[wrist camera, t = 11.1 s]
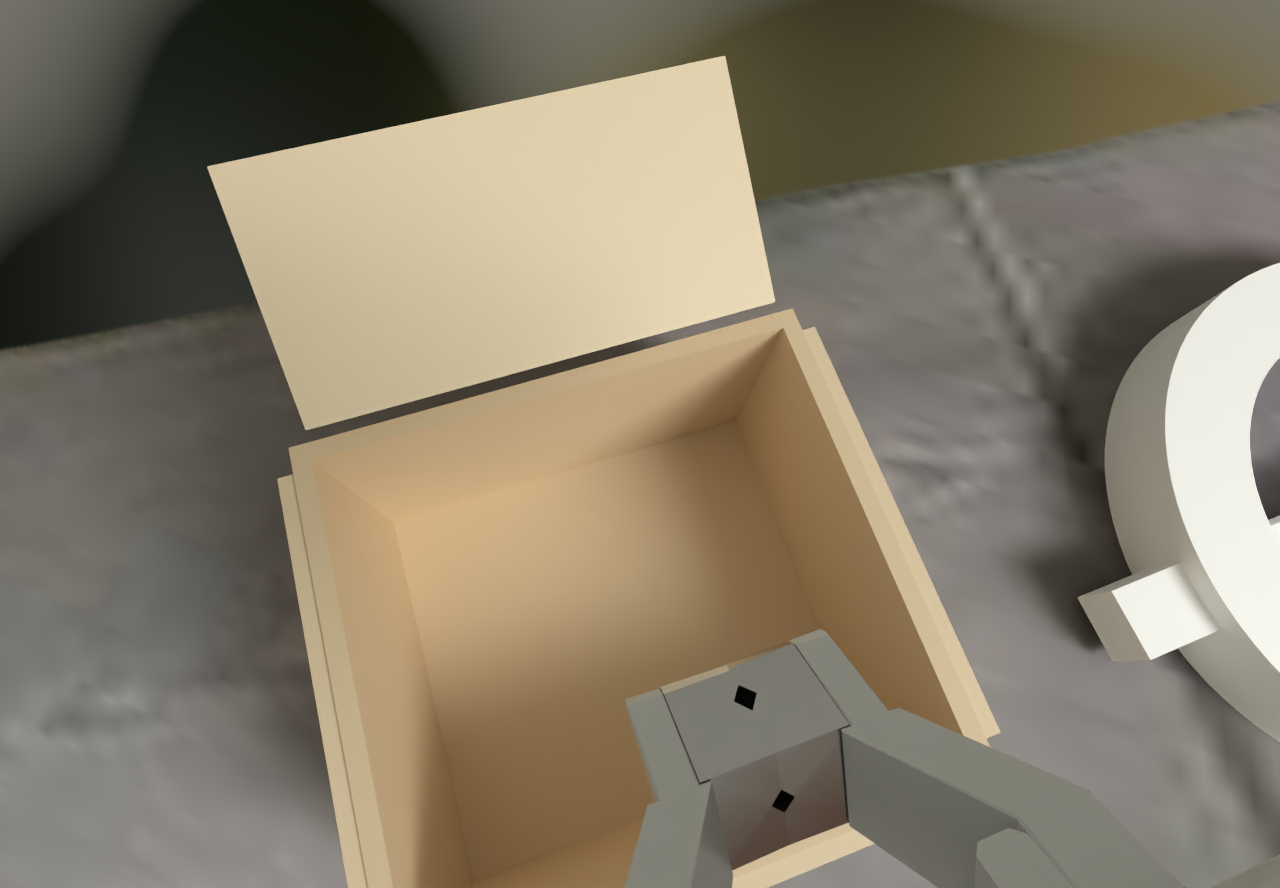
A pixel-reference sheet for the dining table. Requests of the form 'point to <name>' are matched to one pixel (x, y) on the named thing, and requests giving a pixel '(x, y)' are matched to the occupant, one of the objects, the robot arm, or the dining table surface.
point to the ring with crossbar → (1198, 503)
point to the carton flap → (498, 238)
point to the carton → (591, 599)
